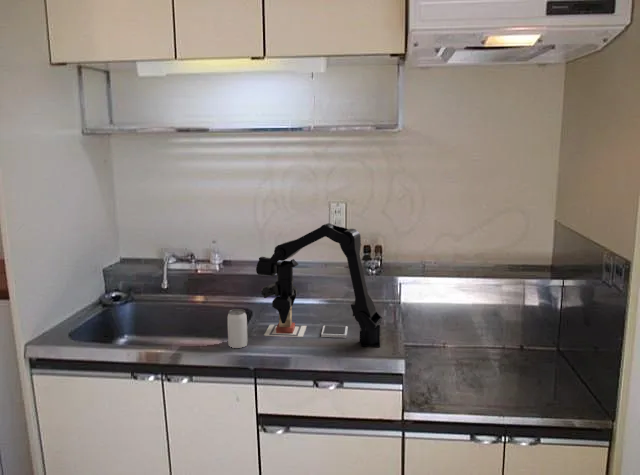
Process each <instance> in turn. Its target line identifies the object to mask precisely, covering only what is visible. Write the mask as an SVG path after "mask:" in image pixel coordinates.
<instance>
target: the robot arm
mask: <svg viewBox="0 0 640 475" xmlns="http://www.w3.org/2000/svg"><path fill="white" fill-rule="evenodd" d="M323 238H328V239H329V240H331V241H333V242H335V243H337V244H339V246H340V249H341V251H342V253H343V255H344V256H345V257H346V259H347V264H348V269H349V275H350V279H351V283H352V284H351V285H352V290H353V292H354V301H353V302H352V303H351V304H350V307H351V311H352V317H354V319H355V320H356V322H358V325H359V343H360V346H361V347H371V348H372V347H374V348H377V347H378V348H379V347H381V325H380V324H381V323H382V320H383V317H382V316H381V315H380V314H379V312H377V309H376V306H375V304H374V300H373V299H372V298H371V296H370V295H369V293H368V289H367V288H368V287H367V284H366V278H365V273H364V269H363V268H364V267H363V264H362V259H361V246H362V238H361V234H360V232H359V231H358V230H357V229H356V228H346V227H343V226H338V225H335V224H332V223H325V224H322V225H321V226H320V227H318V228H317V229H314V230H312V231H310V232H308V233H306V234H304V235H302V236H300V237H298V238H297V239H293V240H290V241H285V242H283V243H281V244H278V245H276V246H275V247H274V250H273V254H272V255H271V257H266V256H260V257H258V261H257V263H256V268H255V270H256V271H255V272H256V274H257V275H258V276H264V277H275V275H276V281H275V283H271V284H269V285H265V286H263V287H262V288H261V294H260V295H262V296H263V298H264V299H266V298H268V297H272V296H275V297H274V298H273V300H272V301H271V307H272V308H273V309H275V310H277V312H278V316H279V315H280V318H281V322H282V323H285V322H286V319H287V316H288V313H289V311H290V308H291V306H292V307H293V305H294V302H295V300H296V297H297V294H298V288H297V287H296V286H295V285H294V282H295V278H294V270H293V269H294V268H296V267H297V266H299V263H298V262H297V261H296V260H295V259H294V258H293V259H291V260H288V259H290V258H292V257H293V256H296V254H298V252H300V251H301V250H302V249H303V248H305V247H307V246H309V245H311V244H313V243H315V242H317V241H319V240H321V239H323Z"/></svg>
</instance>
